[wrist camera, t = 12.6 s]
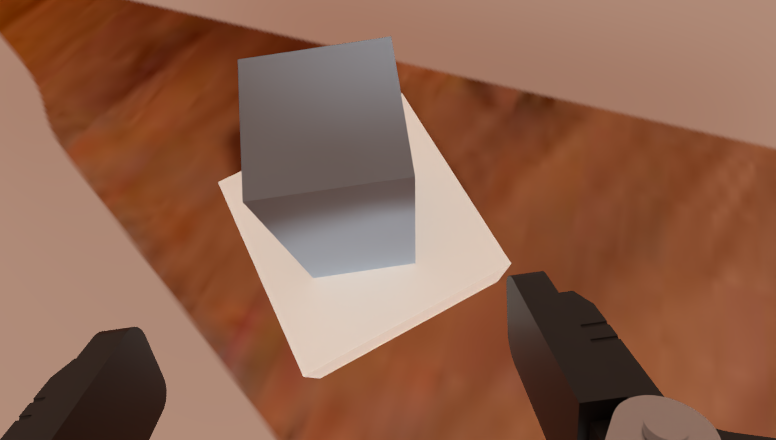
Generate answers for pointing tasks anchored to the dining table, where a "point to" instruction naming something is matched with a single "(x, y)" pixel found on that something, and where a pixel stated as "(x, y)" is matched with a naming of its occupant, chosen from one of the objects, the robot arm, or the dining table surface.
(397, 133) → the block
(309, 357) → the base
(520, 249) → the dining table surface
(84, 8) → the dining table surface
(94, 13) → the dining table surface
